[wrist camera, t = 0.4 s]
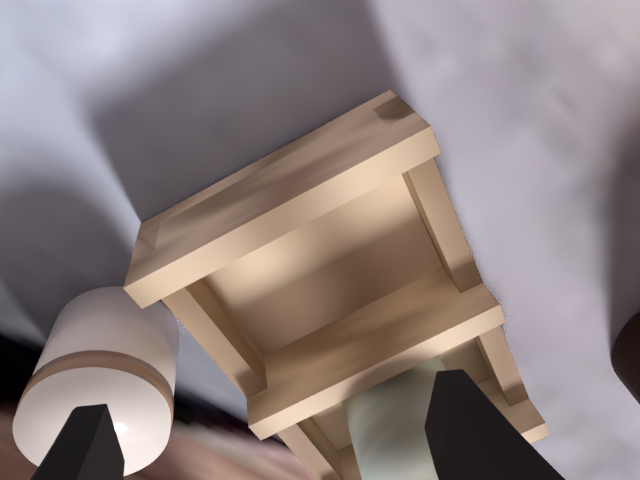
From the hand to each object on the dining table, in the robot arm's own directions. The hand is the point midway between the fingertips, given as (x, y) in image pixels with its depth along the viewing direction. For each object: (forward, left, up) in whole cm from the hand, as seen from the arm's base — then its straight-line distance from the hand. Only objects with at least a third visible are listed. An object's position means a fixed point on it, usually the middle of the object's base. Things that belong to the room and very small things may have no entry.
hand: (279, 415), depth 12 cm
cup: (-8, -3, -11) cm, 14 cm away
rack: (+1, -7, -11) cm, 13 cm away
